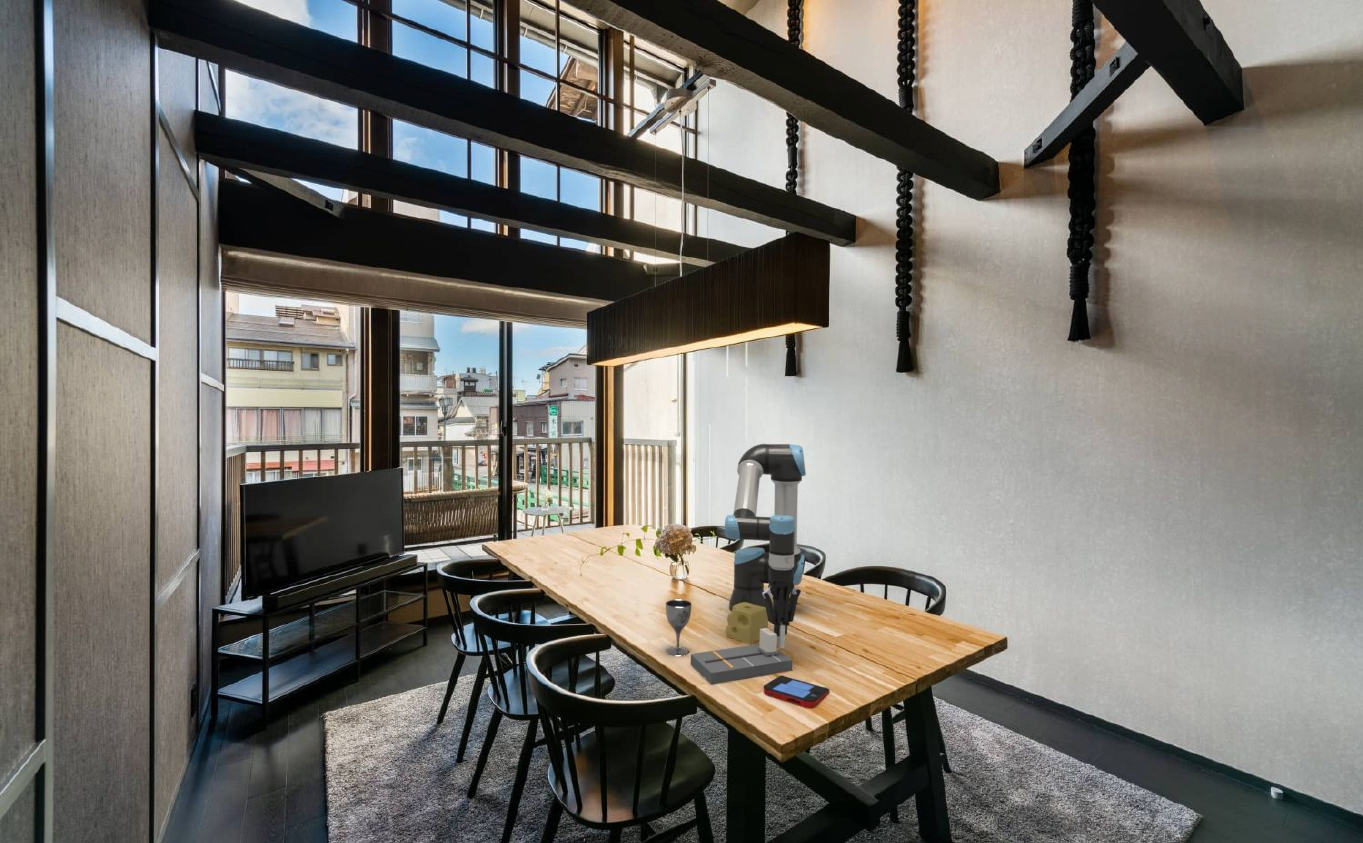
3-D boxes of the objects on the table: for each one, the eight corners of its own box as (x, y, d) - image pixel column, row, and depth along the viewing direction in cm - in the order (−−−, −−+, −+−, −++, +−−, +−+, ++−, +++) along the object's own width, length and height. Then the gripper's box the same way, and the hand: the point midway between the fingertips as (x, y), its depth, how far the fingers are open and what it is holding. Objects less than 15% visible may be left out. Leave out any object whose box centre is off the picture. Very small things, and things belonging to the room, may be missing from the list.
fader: (768, 647, 170) (768, 627, 170) (778, 654, 164) (779, 633, 165) (757, 649, 168) (757, 629, 168) (767, 656, 163) (767, 635, 163)
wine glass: (681, 658, 168) (682, 608, 168) (659, 652, 172) (660, 604, 173) (695, 650, 175) (696, 602, 175) (673, 644, 179) (674, 597, 179)
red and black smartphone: (830, 693, 149) (831, 684, 149) (812, 712, 138) (812, 702, 138) (781, 678, 157) (781, 670, 157) (760, 695, 146) (760, 686, 147)
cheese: (725, 637, 187) (725, 607, 187) (744, 629, 195) (745, 600, 195) (750, 645, 180) (751, 614, 180) (769, 637, 188) (770, 607, 188)
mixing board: (766, 652, 174) (767, 642, 174) (792, 670, 161) (792, 659, 161) (690, 664, 164) (690, 653, 164) (711, 684, 151) (711, 672, 151)
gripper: (769, 571, 162) (768, 653, 162) (806, 568, 168) (805, 647, 167) (756, 566, 169) (755, 644, 169) (792, 563, 174) (791, 639, 174)
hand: (780, 646), depth 168 cm, fingers closed
